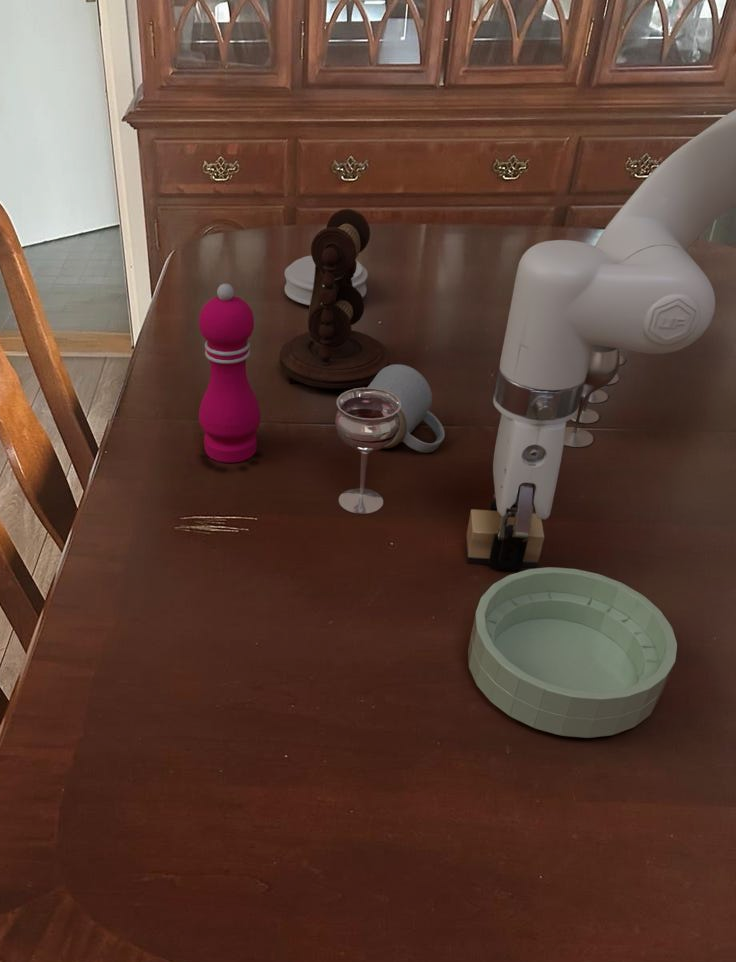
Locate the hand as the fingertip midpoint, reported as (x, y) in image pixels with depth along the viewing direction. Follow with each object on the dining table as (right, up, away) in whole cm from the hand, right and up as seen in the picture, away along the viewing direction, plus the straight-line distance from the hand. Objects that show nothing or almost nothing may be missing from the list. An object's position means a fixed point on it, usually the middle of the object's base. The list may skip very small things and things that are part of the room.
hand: (502, 549), depth 95 cm
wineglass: (-14, +6, +8) cm, 17 cm away
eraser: (0, 0, 0) cm, 1 cm away
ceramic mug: (-8, +15, +18) cm, 25 cm away
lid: (-15, +44, +48) cm, 67 cm away
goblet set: (+18, +22, +24) cm, 37 cm away
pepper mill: (-29, +13, +16) cm, 35 cm away
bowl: (+2, -12, -12) cm, 17 cm away
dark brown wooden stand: (-15, +27, +30) cm, 43 cm away
